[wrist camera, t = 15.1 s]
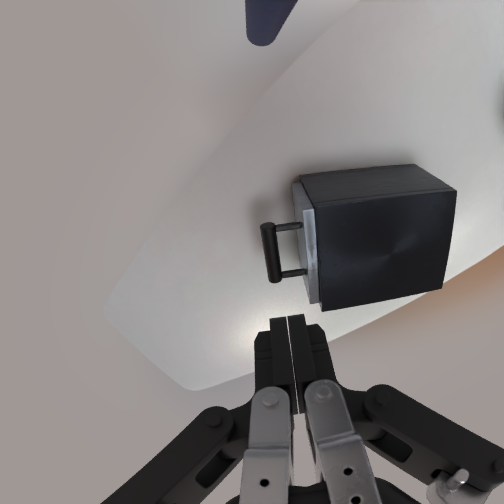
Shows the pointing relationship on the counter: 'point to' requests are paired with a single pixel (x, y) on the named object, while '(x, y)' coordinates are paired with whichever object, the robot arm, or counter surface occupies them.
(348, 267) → the cabinet
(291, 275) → the drawer
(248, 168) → the counter surface
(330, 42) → the counter surface
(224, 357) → the counter surface
